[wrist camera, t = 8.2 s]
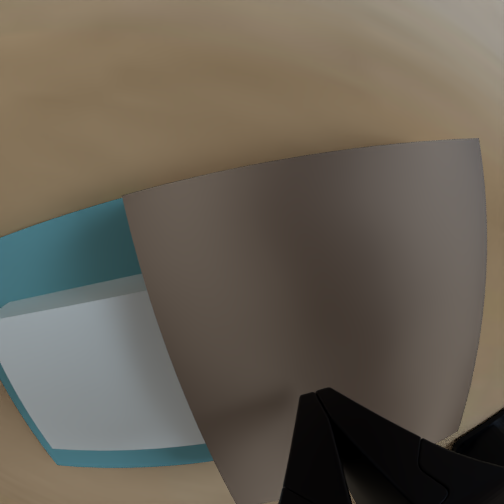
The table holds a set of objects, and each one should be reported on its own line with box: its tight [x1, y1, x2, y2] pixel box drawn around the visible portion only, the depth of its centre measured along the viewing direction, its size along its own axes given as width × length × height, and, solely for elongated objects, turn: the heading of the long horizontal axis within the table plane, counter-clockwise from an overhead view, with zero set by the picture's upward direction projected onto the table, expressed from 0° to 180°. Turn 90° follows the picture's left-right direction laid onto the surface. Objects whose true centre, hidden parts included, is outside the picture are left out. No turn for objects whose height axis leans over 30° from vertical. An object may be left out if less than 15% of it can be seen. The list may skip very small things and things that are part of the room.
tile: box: [0, 274, 205, 451], centre depth 10 cm, size 7×6×2 cm
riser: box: [122, 138, 487, 504], centre depth 10 cm, size 10×12×4 cm
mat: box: [0, 198, 214, 468], centre depth 11 cm, size 10×12×1 cm
